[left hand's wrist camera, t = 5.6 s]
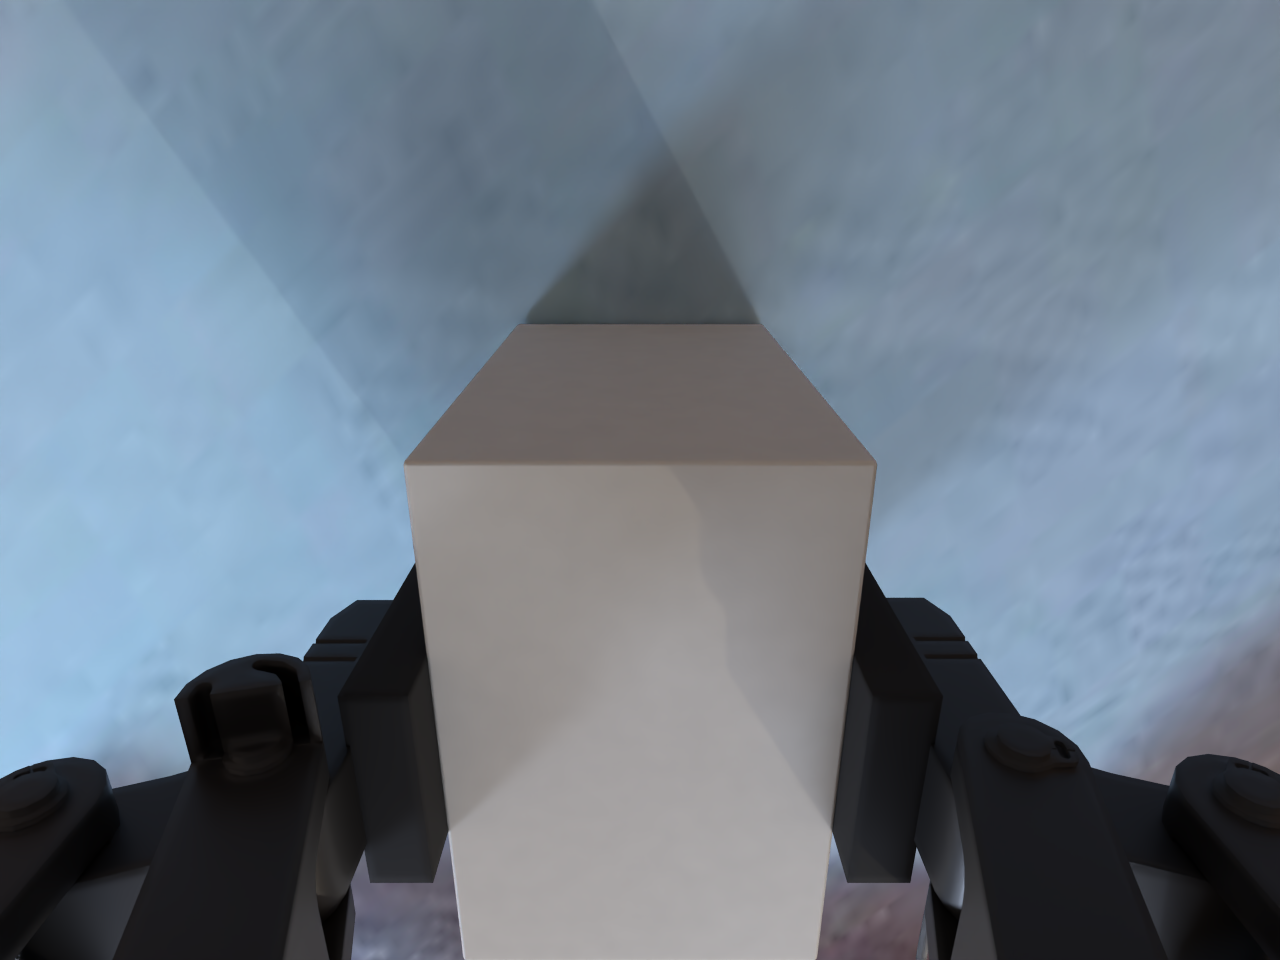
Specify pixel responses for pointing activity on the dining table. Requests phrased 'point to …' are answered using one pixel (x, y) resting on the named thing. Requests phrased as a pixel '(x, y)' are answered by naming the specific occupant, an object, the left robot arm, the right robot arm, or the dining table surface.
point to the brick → (640, 641)
